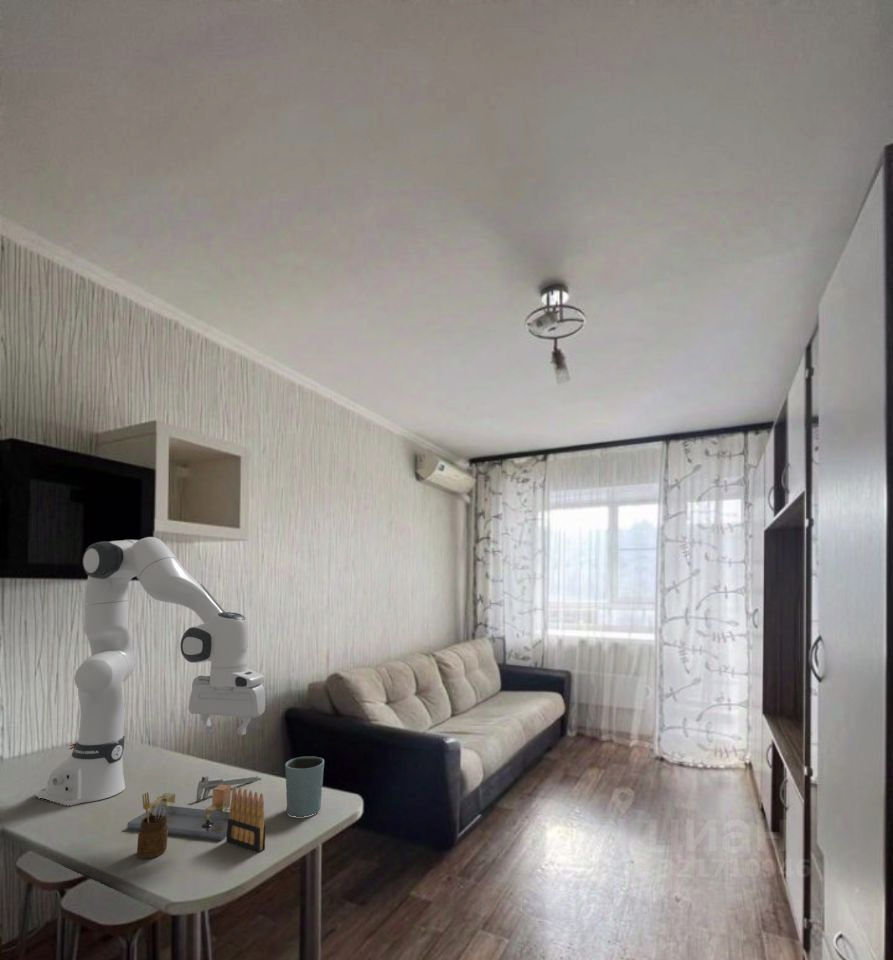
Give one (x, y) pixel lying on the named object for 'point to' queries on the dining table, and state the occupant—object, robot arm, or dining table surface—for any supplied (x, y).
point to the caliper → (214, 783)
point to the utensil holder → (152, 833)
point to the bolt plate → (186, 819)
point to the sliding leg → (219, 800)
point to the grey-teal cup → (304, 785)
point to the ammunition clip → (246, 821)
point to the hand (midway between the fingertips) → (225, 733)
